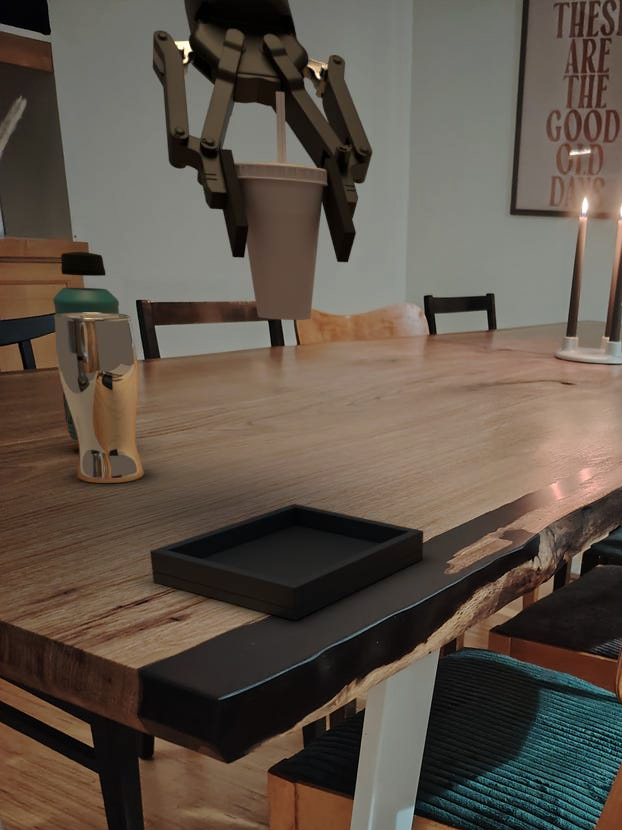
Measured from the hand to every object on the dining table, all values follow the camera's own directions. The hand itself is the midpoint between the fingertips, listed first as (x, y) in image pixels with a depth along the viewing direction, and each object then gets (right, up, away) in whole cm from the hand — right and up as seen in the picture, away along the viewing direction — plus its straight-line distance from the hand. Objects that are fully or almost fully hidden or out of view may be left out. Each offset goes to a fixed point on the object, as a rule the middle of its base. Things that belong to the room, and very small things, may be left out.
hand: (294, 244), depth 61 cm
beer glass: (-24, -10, +30) cm, 39 cm away
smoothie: (-2, -3, +5) cm, 6 cm away
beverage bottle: (-29, -6, +40) cm, 49 cm away
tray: (-1, -21, +7) cm, 22 cm away
